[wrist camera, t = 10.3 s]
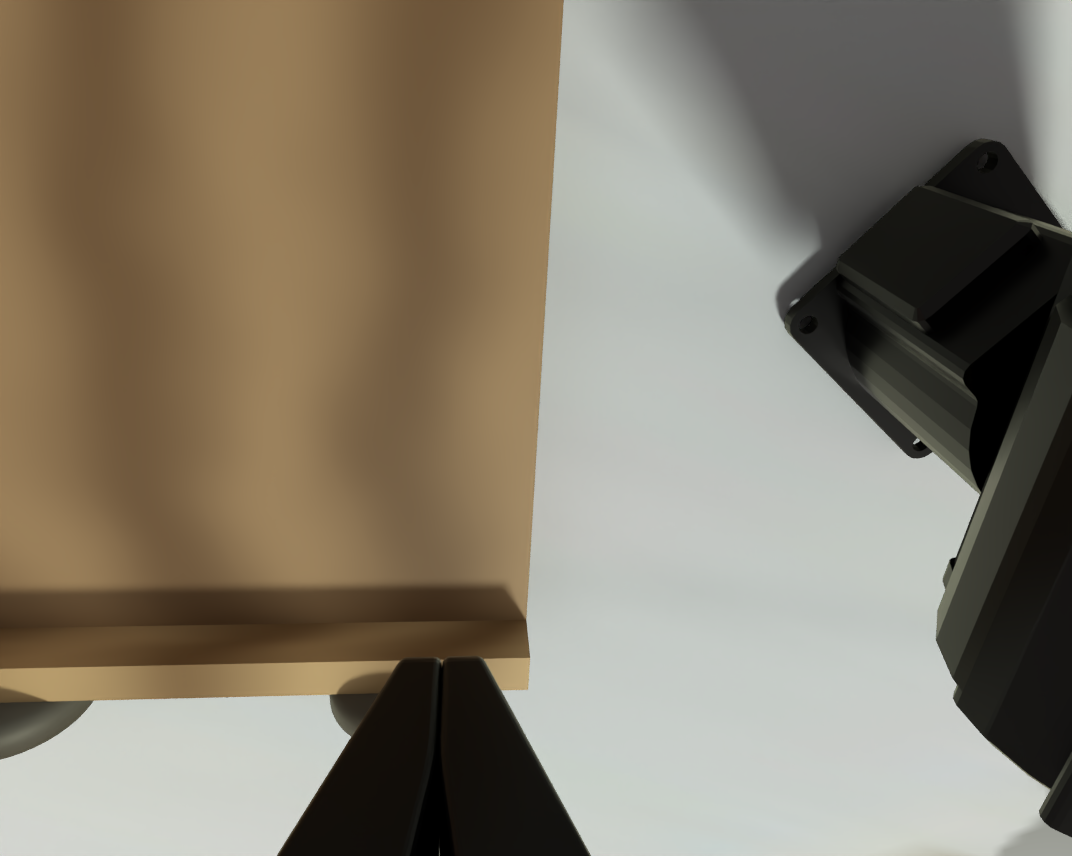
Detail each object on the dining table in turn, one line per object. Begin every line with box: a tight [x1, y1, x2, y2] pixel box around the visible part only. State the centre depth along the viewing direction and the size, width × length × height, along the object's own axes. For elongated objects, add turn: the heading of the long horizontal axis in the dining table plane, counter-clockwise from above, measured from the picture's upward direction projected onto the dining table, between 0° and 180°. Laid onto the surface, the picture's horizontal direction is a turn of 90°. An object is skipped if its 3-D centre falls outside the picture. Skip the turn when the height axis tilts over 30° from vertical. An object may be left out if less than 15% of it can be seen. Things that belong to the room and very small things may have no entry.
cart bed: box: [0, 0, 564, 759], centre depth 17 cm, size 18×23×4 cm
